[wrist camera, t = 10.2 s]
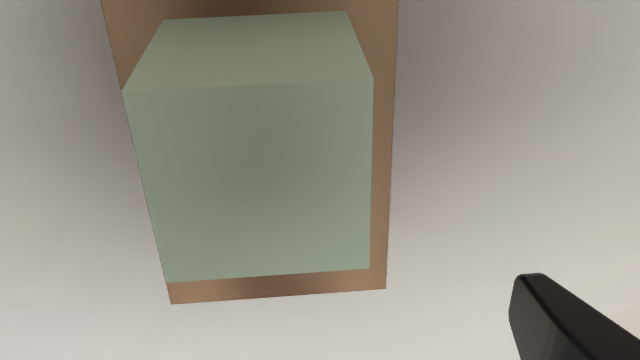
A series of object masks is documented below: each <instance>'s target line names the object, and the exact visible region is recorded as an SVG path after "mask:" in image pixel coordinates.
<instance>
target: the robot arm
mask: <svg viewBox="0 0 640 360" xmlns="http://www.w3.org/2000/svg"><path fill="white" fill-rule="evenodd" d="M509 322H510V326H511V329H512V332H513V336H514V339H515V342H516V345H517V349H518V352H519V355H520V358H521V360H640V339H638V338H637V337H635V336H634V335H632V334H631V333H629V332H628V331H627V330H625V329H624V328H622V327H621V326H619V325H618V324H616V323H615V322H613V321H612V320H610V319H609V318H608V317H606V316H605V315H603V314H602V313H600V312H599V311H597V310H596V309H594V308H593V307H591V306H590V305H589V304H587V303H586V302H584V301H583V300H581V299H580V298H578V297H577V296H575V295H574V294H572V293H571V292H570V291H568V290H567V289H565V288H564V287H562V286H561V285H559V284H558V283H556V282H555V281H553V280H552V279H551V278H549V277H548V276H546V275H544V274H542V273H531V274H520V275H518V276H517V277H516V279H515V282H514V286H513V291H512V296H511V301H510V306H509Z"/></svg>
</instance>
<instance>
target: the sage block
mask: <svg viewBox="0 0 640 360" xmlns="http://www.w3.org/2000/svg"><path fill="white" fill-rule="evenodd" d="M373 83H374V78H373V75H372V73H371V70H370V68H369V66H368V63H367V61H366V58H365V56H364V53H363V51H362V49H361V46H360V44H359V41H358V39H357V37H356V34H355V32H354V29H353V27H352V24H351V22H350V20H349V17H348V15H347V12H346V11H329V12H308V13H288V14H268V15H248V16H228V17H207V18H187V19H167V20H163V21H162V22H161V24H160V26H159V27H158V29H157V31H156V33H155V34H154V36H153V38H152V39H151V41H150V43H149V45H148V46H147V48H146V50H145V52H144V53H143V55H142V57H141V58H140V60H139V62H138V64H137V65H136V67H135V69H134V70H133V72H132V74H131V76H130V77H129V79H128V81H127V83H126V84H125V86H124V88H123V89H122V91H121V94H122V98H123V102H124V106H125V111H126V115H127V119H128V124H129V128H130V132H131V136H132V141H133V145H134V149H135V154H136V158H137V162H138V167H139V171H140V175H141V179H142V184H143V188H144V192H145V197H146V201H147V205H148V209H149V214H150V218H151V222H152V227H153V231H154V235H155V240H156V244H157V248H158V252H159V257H160V261H161V265H162V270H163V274H164V278H165V282H166V283H172V282H186V281H200V280H214V279H228V278H242V277H256V276H270V275H284V274H298V273H313V272H327V271H341V270H355V269H369V260H370V216H371V172H372V128H373Z"/></svg>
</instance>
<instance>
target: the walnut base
mask: <svg viewBox="0 0 640 360" xmlns="http://www.w3.org/2000/svg"><path fill="white" fill-rule="evenodd" d="M100 1H101V5H102V9H103V14H104V18H105V22H106V26H107V31H108V35H109V39H110V44H111V48H112V52H113V57H114V61H115V65H116V69H117V74H118V78H119V82H120V87H121V91H122V89H123V88H124V86H125V84H126V83H127V81H128V79H129V77H130V76H131V74H132V72H133V70H134V69H135V67H136V65H137V64H138V62H139V60H140V58H141V57H142V55H143V53H144V52H145V50H146V48H147V46H148V45H149V43H150V41H151V39H152V38H153V36H154V34H155V33H156V31H157V29H158V27H159V26H160V24H161V22H162V21H163V20H167V19H187V18H207V17H228V16H248V15H268V14H288V13H308V12H329V11H346V12H347V15H348V17H349V20H350V22H351V24H352V27H353V29H354V32H355V34H356V37H357V39H358V41H359V44H360V46H361V49H362V51H363V53H364V56H365V58H366V61H367V63H368V66H369V68H370V70H371V73H372V75H373V78H374V83H373V128H372V172H371V216H370V260H369V269H355V270H341V271H327V272H313V273H298V274H284V275H270V276H256V277H242V278H228V279H214V280H200V281H186V282H172V283H166V285H167V289H168V293H169V297H170V302H171V304H184V303H198V302H212V301H226V300H239V299H253V298H267V297H280V296H294V295H308V294H321V293H335V292H349V291H363V290H376V289H386V274H387V251H388V228H389V206H390V183H391V160H392V137H393V114H394V92H395V69H396V46H397V23H398V0H100Z"/></svg>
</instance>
